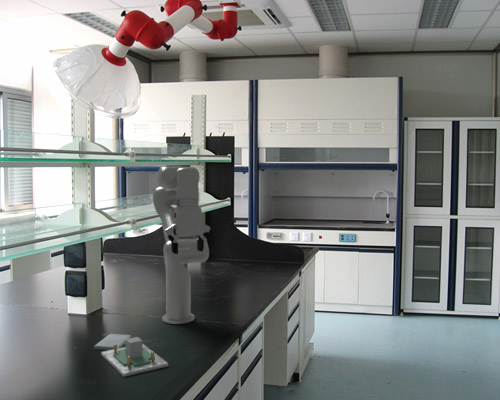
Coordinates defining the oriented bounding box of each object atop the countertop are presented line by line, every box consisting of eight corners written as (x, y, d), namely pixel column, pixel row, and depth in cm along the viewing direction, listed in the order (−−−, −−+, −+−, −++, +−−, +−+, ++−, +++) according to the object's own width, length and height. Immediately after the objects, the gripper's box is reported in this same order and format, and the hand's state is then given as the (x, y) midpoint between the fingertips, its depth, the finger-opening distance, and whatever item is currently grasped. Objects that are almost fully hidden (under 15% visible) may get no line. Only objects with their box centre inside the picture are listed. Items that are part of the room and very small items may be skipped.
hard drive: (117, 347, 171) (131, 334, 183) (93, 345, 172) (109, 333, 184) (117, 352, 171) (131, 339, 183) (93, 350, 172) (109, 337, 184)
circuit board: (110, 353, 165) (110, 336, 165) (140, 347, 171) (140, 330, 170) (126, 368, 154) (126, 350, 153) (158, 361, 159) (158, 343, 159)
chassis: (101, 355, 167) (101, 342, 167) (142, 346, 175) (142, 334, 174) (123, 376, 150) (123, 363, 150) (168, 366, 158) (168, 353, 158)
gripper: (169, 205, 172) (169, 256, 174) (214, 203, 182) (214, 251, 183) (160, 203, 179) (160, 253, 180) (204, 201, 188) (204, 248, 190)
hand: (187, 252), depth 182 cm, fingers open, 9 cm apart
